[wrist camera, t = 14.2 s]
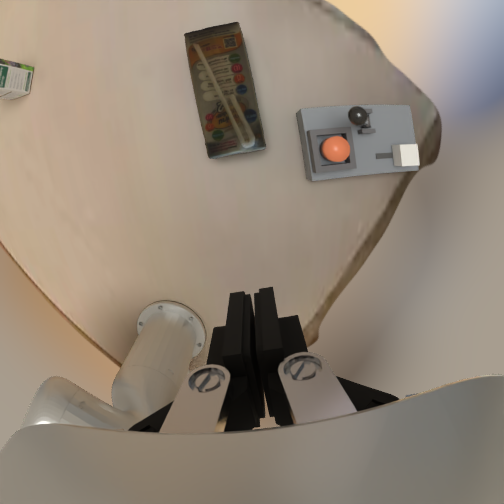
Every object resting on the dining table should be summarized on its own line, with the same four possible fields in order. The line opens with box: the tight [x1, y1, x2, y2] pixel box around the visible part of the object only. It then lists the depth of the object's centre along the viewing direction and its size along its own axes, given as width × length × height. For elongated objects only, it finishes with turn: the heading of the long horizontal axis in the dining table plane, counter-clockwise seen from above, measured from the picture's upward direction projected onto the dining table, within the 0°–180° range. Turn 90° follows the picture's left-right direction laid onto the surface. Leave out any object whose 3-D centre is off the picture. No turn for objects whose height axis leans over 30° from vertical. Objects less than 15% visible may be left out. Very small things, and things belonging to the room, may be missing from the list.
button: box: [320, 136, 350, 162], centre depth 34 cm, size 3×3×3 cm
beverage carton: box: [184, 22, 266, 159], centre depth 35 cm, size 8×19×7 cm, turn 11°
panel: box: [296, 105, 418, 181], centre depth 37 cm, size 10×17×6 cm, turn 100°
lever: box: [348, 106, 371, 128], centre depth 31 cm, size 2×2×10 cm
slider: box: [392, 144, 419, 166], centre depth 35 cm, size 3×3×2 cm
